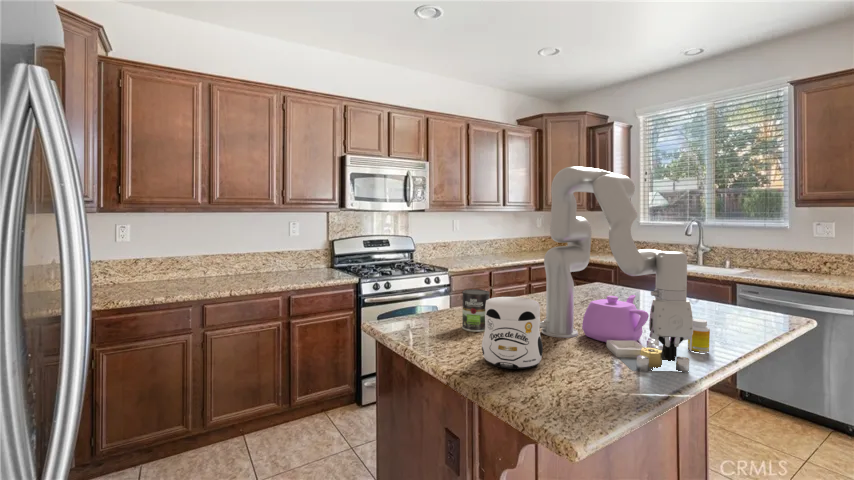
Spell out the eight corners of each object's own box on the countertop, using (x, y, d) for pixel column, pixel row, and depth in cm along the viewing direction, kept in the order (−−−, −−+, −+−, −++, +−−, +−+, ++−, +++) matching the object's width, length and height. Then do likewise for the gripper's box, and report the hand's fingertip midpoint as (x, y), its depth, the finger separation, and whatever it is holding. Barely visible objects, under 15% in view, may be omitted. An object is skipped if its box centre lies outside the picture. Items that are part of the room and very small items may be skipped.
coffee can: (487, 333, 149) (487, 294, 149) (459, 330, 152) (459, 293, 152) (491, 325, 159) (491, 289, 158) (465, 323, 162) (465, 288, 161)
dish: (617, 357, 123) (617, 349, 123) (606, 347, 132) (606, 340, 132) (648, 357, 122) (648, 349, 122) (635, 347, 131) (635, 340, 131)
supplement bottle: (713, 355, 125) (714, 322, 124) (695, 355, 125) (697, 322, 124) (700, 349, 130) (701, 317, 130) (683, 349, 130) (684, 318, 130)
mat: (632, 372, 112) (632, 370, 112) (606, 348, 132) (606, 347, 132) (690, 373, 111) (690, 372, 111) (655, 349, 130) (655, 348, 130)
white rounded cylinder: (497, 377, 109) (498, 310, 107) (472, 356, 125) (472, 297, 124) (554, 370, 113) (555, 306, 112) (523, 350, 130) (523, 294, 129)
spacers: (639, 371, 111) (639, 359, 111) (611, 347, 131) (612, 337, 131) (691, 373, 110) (691, 360, 110) (655, 348, 130) (656, 338, 130)
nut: (643, 366, 115) (643, 352, 114) (637, 360, 120) (637, 347, 119) (665, 368, 114) (666, 353, 113) (658, 361, 119) (658, 348, 118)
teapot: (633, 354, 126) (634, 306, 126) (574, 337, 144) (575, 295, 143) (670, 341, 139) (671, 297, 138) (612, 327, 157) (613, 288, 156)
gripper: (649, 297, 112) (648, 363, 113) (706, 297, 111) (705, 364, 112) (637, 292, 119) (636, 354, 120) (690, 292, 118) (689, 355, 119)
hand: (669, 359), depth 116 cm, fingers closed
